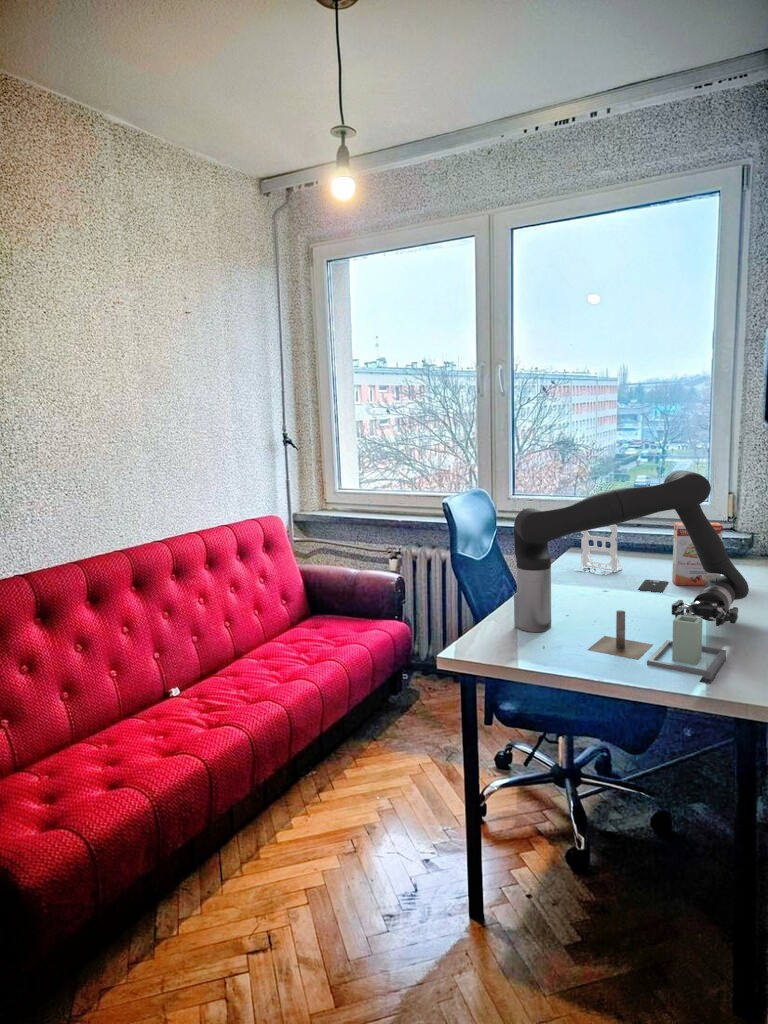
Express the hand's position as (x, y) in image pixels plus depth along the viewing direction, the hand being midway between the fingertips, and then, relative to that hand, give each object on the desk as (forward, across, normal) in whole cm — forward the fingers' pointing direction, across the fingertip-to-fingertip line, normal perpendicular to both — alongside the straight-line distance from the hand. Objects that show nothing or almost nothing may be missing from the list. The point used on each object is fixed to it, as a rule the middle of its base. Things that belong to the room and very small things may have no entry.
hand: (697, 619), depth 148 cm
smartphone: (-58, -26, +9) cm, 64 cm away
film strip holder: (-72, -50, +9) cm, 88 cm away
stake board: (+9, -15, +8) cm, 20 cm away
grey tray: (+9, 0, +9) cm, 13 cm away
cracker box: (-68, -15, +9) cm, 70 cm away
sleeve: (+9, 0, +8) cm, 12 cm away
